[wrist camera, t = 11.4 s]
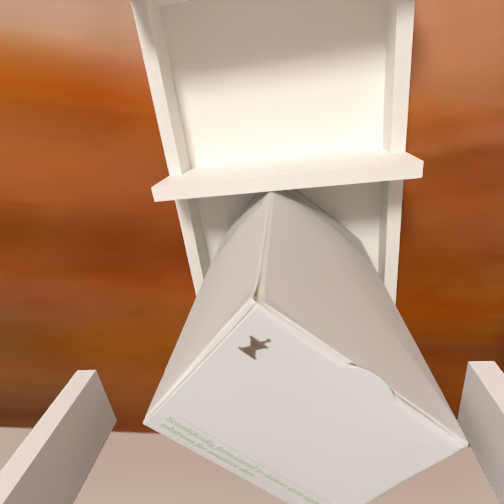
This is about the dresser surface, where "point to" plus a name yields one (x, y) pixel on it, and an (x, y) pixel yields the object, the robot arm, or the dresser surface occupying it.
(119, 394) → the dresser surface
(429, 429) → the skincare box
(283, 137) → the caddy rack
